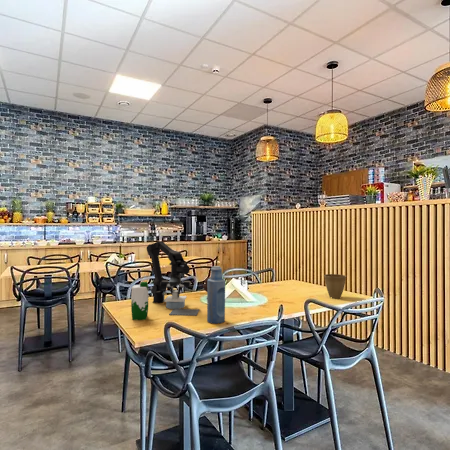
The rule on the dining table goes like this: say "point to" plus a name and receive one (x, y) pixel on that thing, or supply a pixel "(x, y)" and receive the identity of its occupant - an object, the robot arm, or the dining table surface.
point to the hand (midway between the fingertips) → (175, 297)
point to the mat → (185, 312)
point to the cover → (175, 297)
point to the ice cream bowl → (205, 284)
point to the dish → (175, 305)
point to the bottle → (216, 296)
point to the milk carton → (139, 301)
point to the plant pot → (335, 284)
